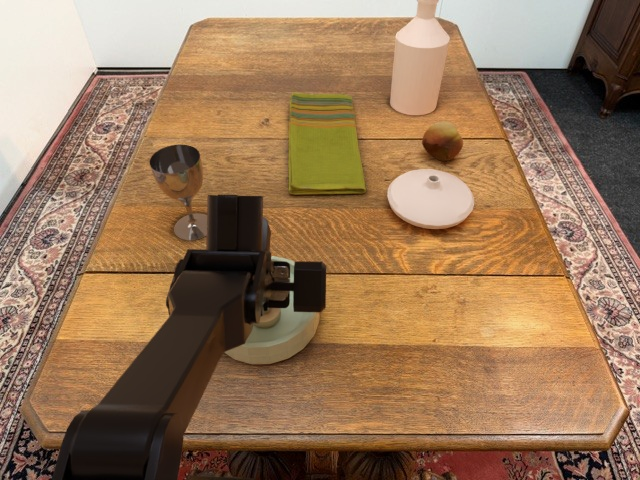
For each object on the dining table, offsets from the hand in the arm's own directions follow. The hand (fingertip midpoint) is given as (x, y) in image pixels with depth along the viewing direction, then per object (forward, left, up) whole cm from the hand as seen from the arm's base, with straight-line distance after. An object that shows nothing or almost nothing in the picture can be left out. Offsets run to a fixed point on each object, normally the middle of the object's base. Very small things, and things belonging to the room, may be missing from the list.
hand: (261, 279), depth 67 cm
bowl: (-1, 0, -7) cm, 7 cm away
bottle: (+69, -11, -7) cm, 70 cm away
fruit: (+48, -20, -8) cm, 52 cm away
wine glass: (+14, +20, -7) cm, 25 cm away
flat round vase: (+31, -20, -8) cm, 38 cm away
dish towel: (+46, +5, -7) cm, 47 cm away
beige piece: (-1, 0, -7) cm, 7 cm away
